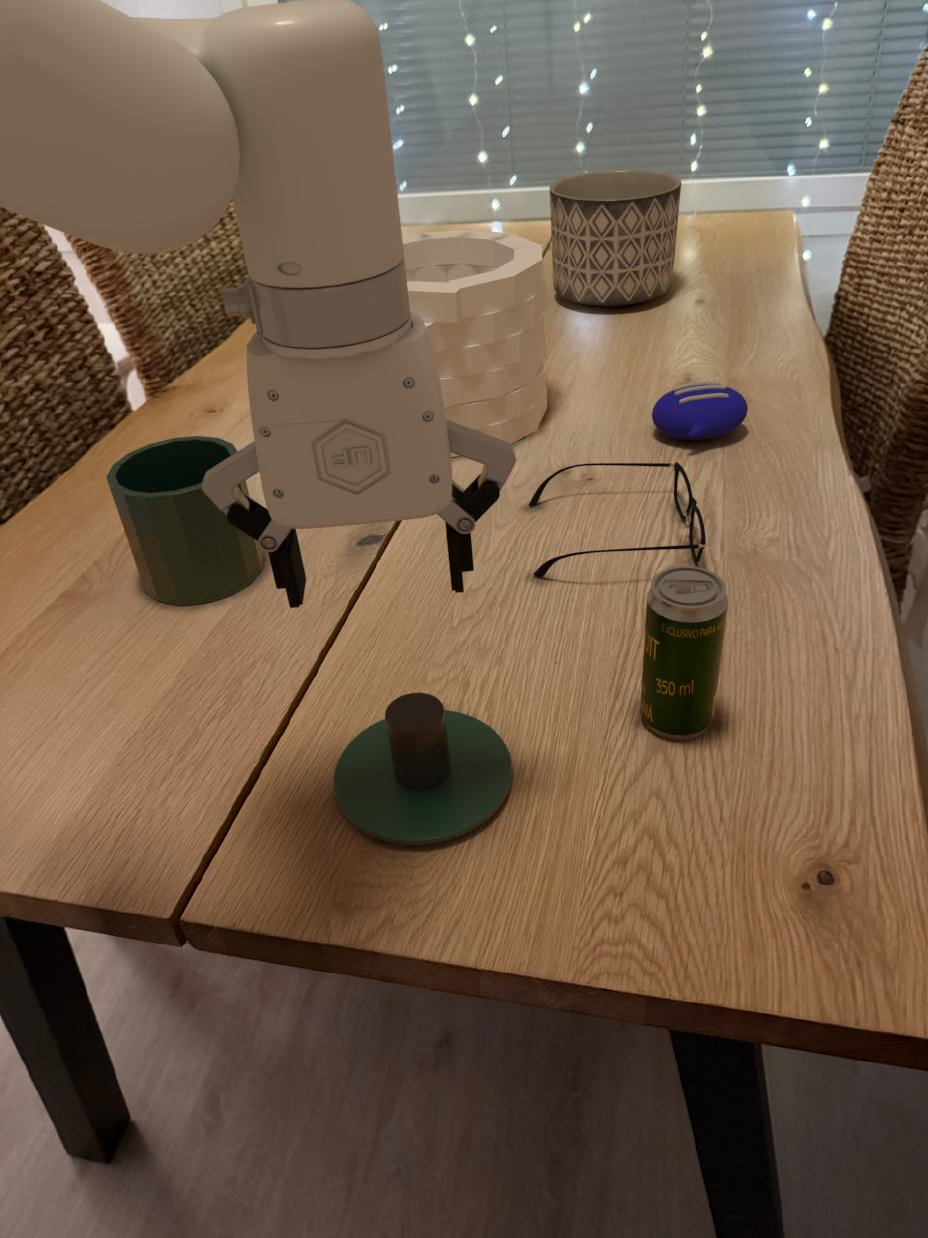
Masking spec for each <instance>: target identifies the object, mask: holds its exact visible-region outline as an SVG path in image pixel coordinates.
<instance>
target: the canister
mask: <svg viewBox="0 0 928 1238" xmlns="http://www.w3.org/2000/svg"><path fill="white" fill-rule="evenodd" d="M238 451H239V450H238V449H237V448H236V447H235V445H234V444H233V443H232V442H230V441H227V440H224V439H222V438H220V437H212V436H203V435H193V436H191V435H190V436H182V437H181V436H179V437H171V438H168V439H164V440H161V441H157V442H153V443H148V444H146V445H144V446H141V447H139V448H137V449H135V450H133V451H130V452H128V453H126V454H125V455H124V456H123V457H121V458H120V459H118V460H117V461H116V462H115V463H113V464H112V466H111V468H110V469H109V471H108V473H107V475H106V480H107V484H108V487H109V490H110V493H111V495H112V499H113V501H114V504H115V508H116V510H117V513H118V516H119V518H120V522H121V525H122V527H123V530H124V533H125V537H126V539H127V543H128V546H129V548H130V551H131V554H132V557H133V560H134V562H135V565H136V569H137V572H138V575H139V577H140V580H141V583H142V586H143V589H144V590H145V592H146V593H147V595H148V596H149V597H151V598H152V599H153V600H155V601H157V602H160V603H163V604H167V605H172V606H197V605H203V604H209V603H213V602H217V601H220V600H222V599H225V598H227V597H231V596H232V595H235V594H236V593H238V592H240V591H242V590H243V589H245V588H246V587H248V586H249V585H250V584H252V582H254V580H256V579H257V577H258V575H260V573H261V571H262V569H263V567H264V561H265V559H264V551H263V550H262V549H261V548H260V547H259V545H258V541H257V540H255V539H253V538H252V537H250V536H249V535H247V534H246V533H244V532H242V531H241V530H239V529H238V528H236V527H234V526H233V525H231V524H230V523H229V522H228V520H227V516H226V514H225V513H224V512H223V511H220V510H219V508H218V507H217V506H216V505H215V504H214V503H213V502H212V501H211V500H210V499H209V497H208V496H207V495H206V494H205V493H204V492H203V490H202V488H201V485H202V482H203V479H204V476H205V473H206V472H207V471H208V470H210V469H211V468H213V467H214V466H216V465H217V464H219V463H221V462H222V461H224V460H225V459H227V458H228V457H230V456H232V455H233V454H235V453H236V452H238ZM237 486H238V488H239V489H240V490H241V493H242V494H243V495H246V496H248V497H249V498H251V497H250V493H249V489H248V485H247V480H245V481H244V482H242V483H240V484H239V485H237Z"/></svg>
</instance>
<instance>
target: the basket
mask: <svg viewBox="0 0 928 1238" xmlns="http://www.w3.org/2000/svg"><path fill="white" fill-rule="evenodd" d="M402 240H403V249H404V259H405V268H406V278H407V287H408V296H409V305H410V312H413V313H415V314H417V315H419V316H420V317H421V318H422V319H423V321H424V324H425V327H426V329H427V332H428V335H429V338H430V342H431V345H432V348H433V352H434V356H435V360H436V364H437V368H438V373H439V379H440V384H441V389H442V396H443V402H444V408H445V415H446V419H447V420H449V421H452V422H455V423H457V424H460V425H463V426H465V427H468V428H471V429H474V430H476V431H479V432H482V433H484V434H487V435H490V436H492V437H495V438H498V439H500V440H503V441H506V442H508V443H510V444H512V445H513V443H516V442H517V441H520V440H521V439H523V438H525V437H527V436H530V435H531V434H533V433H535V432H537V431H539V426H540V424H541V422H542V420H543V418H544V416H545V414H546V412H547V409H548V391H547V390H548V388H547V386H548V385H547V384H546V371H545V369H544V362H545V360H546V359H547V353H546V352H547V351H546V350H547V349H546V348H547V347H546V333H545V316H544V315H543V314H544V313H545V311H546V309H547V279H544V259H543V244H541V243H536V242H534V241H531V240H530V239H527V238H524V237H521V236H519V235H518V234H515V233H513V232H512V233H511V232H501V231H500V232H499V231H489V230H477V229H458V230H456V229H455V230H445V231H444V230H443V231H428V232H420V233H414V234H409V235H405V236H402ZM450 453H451V459H452V458H456V457H461V456H460V455H457V454H454V453H452V452H450Z"/></svg>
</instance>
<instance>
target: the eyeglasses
mask: <svg viewBox="0 0 928 1238" xmlns="http://www.w3.org/2000/svg"><path fill="white" fill-rule="evenodd" d="M587 466H588V467H589V466H590V467H591V466H616V467H617V466H618V467H619V466H622V467H628V466H629V467H654V468H655V467H657V468H673V471H674V475H673V477H674V480H673V499H674V502H675V507H676V509H677V512H678V514H679V516H680V518H681V519H682V520H686V521H685V525H686V526H689V531H688V532H689V533H688V539H689V544H681V545H679V544H678V545H664V546H663V545H662V546H661V545H660V546H647V547H646V546H645V547H630V548H616V549H615V548H613V549H612V548H611V549H598V550H586V551H585V550H584V551H577V552H570V553H566V554H563V555H558V556H555V557H551V558H550V559H548V560H546V561H545V562H543V563H542V565H540V566H539V567H538V568H537V569H536V570H535V572H533V576H535V577H538V578H543V577H545V575H546V574H547V573H548V571H549V569H551V568H552V566H553V565H555V563H557V562H559V561H560V560H563V559H566V558H570V557H574V556H575V557H576V556H580V555H586V554H595V553H596V554H597V553H611V552H614V553H615V552H636V551H664V550H690V552H691V555H692V558H693V561H694V563H699V562H700V560H701V557H702V555H703V551H704V549H706V547H707V544H706V543H707V538H706V530H705V529H706V528H705V524H704V523H705V522H704V520H703V516H702V512H701V511H700V508H699V507H698V505H697V504H698V501H697V500H696V498H695V497H694V496H693V491H692V487H691V484H690V480H689V477H688V475H687V473H686V471H685V469H684V467H683V466H682V465H681V464H680V463H679V462H677V461H676V462H674V463H672V462H671V463H669V462H668V463H667V462H666V463H665V462H610V463H609V462H607V463H606V462H596V463H592V462H591V463H578V464H574V465H570V466H566V467H563V468H561V469H559V470H557V471H555V472H553V473H552V474H551V475H550V476H548V477H547V478H545V479H544V480H543V482H542V483H541V484H540V485H538V488H537V489H536V490H535V492H534V494H533V495H532V497H531V499H530V501H529V503H528V506H529V507H533V506H536V505H537V504H538V503H539V502H540V498H541V496H542V494H543V492H544V490H545V488H546V486H547V485H548V484H549V482H550V481H551V480H552V479H554V478H555V477H556V476H557V475H559V474H561V473H563V472H565V471H568V470H570V469H574V468H577V467H587ZM680 473H681V475H682V477H683V480H684V483H685V486H686V489H687V494H688V502H687V506H686V507H685V508H684V509H683V511H682V509H681V506H680V502H679V499H678V482H679V475H680ZM695 514H696V516H697V519H698V524H699V529H700V541H699V544H697V543H696V544H695V543H694V521H695ZM689 515H690V516H689ZM688 518H689V519H688ZM697 549H698V550H697ZM696 550H697V554H696Z"/></svg>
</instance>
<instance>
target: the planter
mask: <svg viewBox="0 0 928 1238" xmlns="http://www.w3.org/2000/svg"><path fill="white" fill-rule="evenodd" d="M681 192H682V180H681V179H680V178H679V176H677V175H675V174H672V173H669V172H665V171H659V170H650V169H637V168H636V169H635V168H634V169H633V168H631V169H630V168H629V169H628V168H626V169H625V168H623V169H621V168H620V169H604V170H594V171H588V172H582V173H577V174H572V175H569V176H565V177H563V178H560V179H558V180H556V181H554V182H553V183H551V184H550V186H549V211H550V235H551V259H552V260H551V261H552V285H553V286H552V287H553V290H554V292H555V293H556V294H557V295H558V296H559V297H561V298H562V299H565V300H568V301H570V302H573V303H577V304H582V305H590V306H595V307H605V308H614V307H625V306H630V305H634V304H639V303H643V302H644V303H645V302H647V301H651V300H654V299H657V298H658V297H661V296H663V295H664V294H666V293H667V292H668V291H669V290H670V289H671V288H672V285H673V281H674V267H675V257H676V245H677V236H678V227H679V226H678V224H679V215H680V214H679V213H680V202H681Z"/></svg>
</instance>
